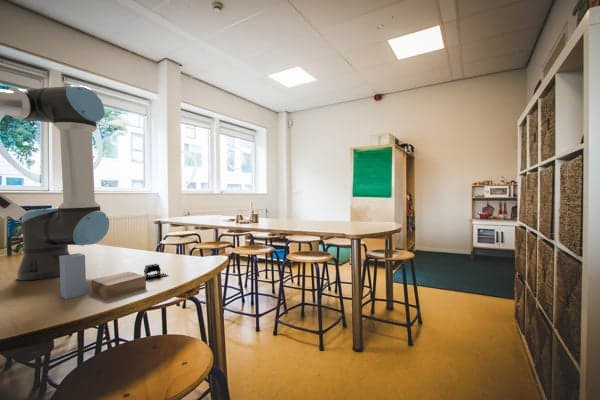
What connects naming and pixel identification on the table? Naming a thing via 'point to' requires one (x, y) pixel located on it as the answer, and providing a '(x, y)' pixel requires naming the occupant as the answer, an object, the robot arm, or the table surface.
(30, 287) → the table surface
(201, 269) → the table surface
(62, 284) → the tower block
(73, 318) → the table surface
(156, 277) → the black piece
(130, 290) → the base block
